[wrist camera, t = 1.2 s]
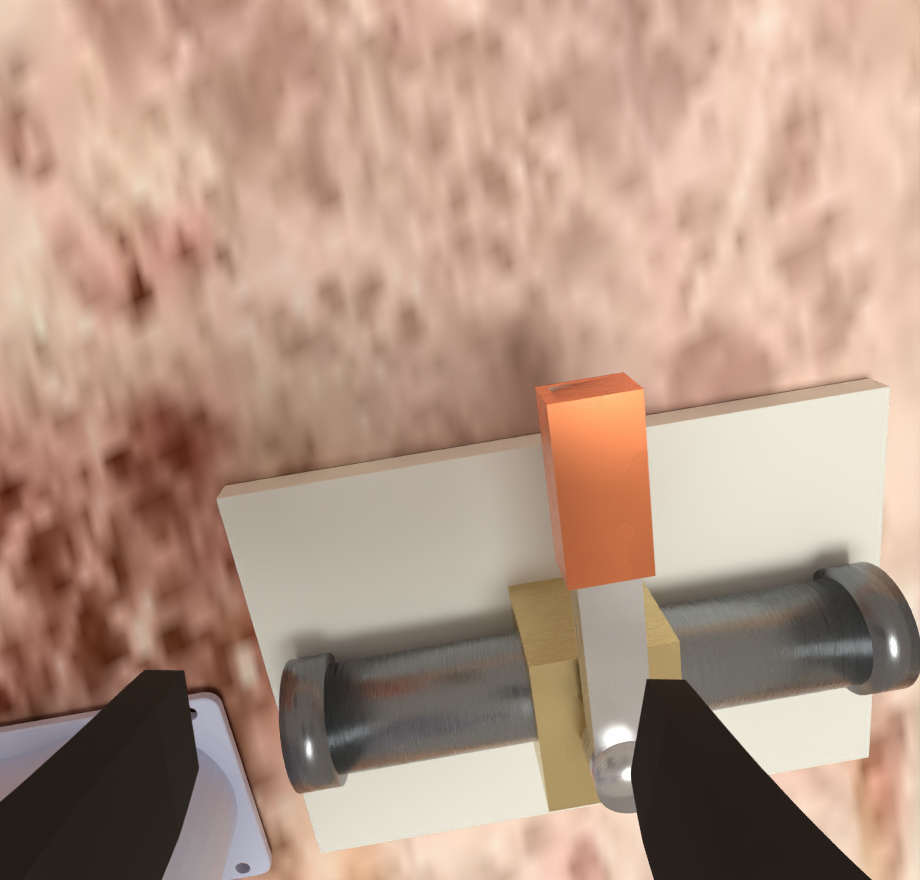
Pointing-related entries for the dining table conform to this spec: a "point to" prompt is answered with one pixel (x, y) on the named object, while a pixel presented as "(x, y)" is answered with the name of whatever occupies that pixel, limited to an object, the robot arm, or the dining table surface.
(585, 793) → the pipe and valve
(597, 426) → the valve lever
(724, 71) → the dining table surface
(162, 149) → the dining table surface
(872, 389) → the valve board
